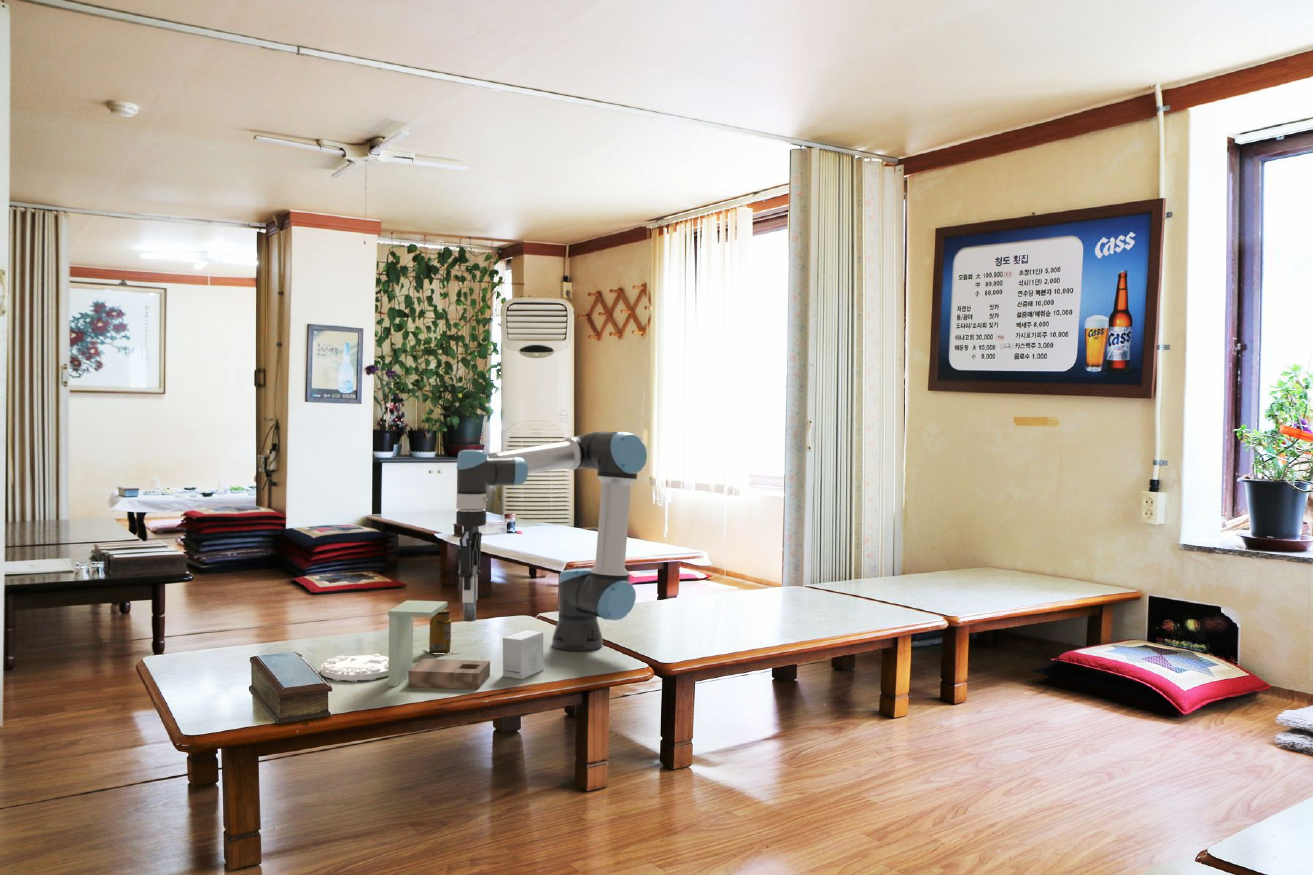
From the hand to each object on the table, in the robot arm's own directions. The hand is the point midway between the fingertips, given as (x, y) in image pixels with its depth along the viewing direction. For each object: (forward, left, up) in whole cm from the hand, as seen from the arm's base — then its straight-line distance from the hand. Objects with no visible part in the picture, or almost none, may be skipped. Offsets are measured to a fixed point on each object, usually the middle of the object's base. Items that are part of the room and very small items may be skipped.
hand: (469, 600), depth 242 cm
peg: (0, 0, -5) cm, 5 cm away
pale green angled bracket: (+13, 0, -21) cm, 25 cm away
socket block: (+5, 0, -21) cm, 22 cm away
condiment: (+16, -29, -21) cm, 39 cm away
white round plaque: (+31, -6, -22) cm, 38 cm away
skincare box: (-12, -10, -21) cm, 26 cm away
